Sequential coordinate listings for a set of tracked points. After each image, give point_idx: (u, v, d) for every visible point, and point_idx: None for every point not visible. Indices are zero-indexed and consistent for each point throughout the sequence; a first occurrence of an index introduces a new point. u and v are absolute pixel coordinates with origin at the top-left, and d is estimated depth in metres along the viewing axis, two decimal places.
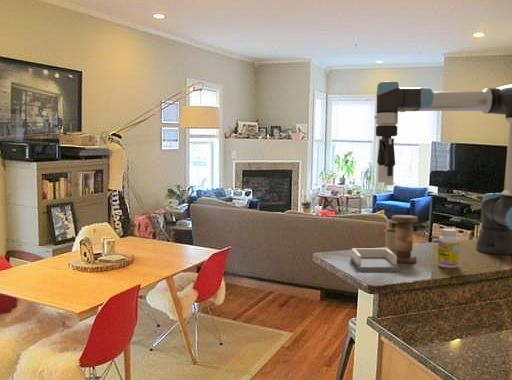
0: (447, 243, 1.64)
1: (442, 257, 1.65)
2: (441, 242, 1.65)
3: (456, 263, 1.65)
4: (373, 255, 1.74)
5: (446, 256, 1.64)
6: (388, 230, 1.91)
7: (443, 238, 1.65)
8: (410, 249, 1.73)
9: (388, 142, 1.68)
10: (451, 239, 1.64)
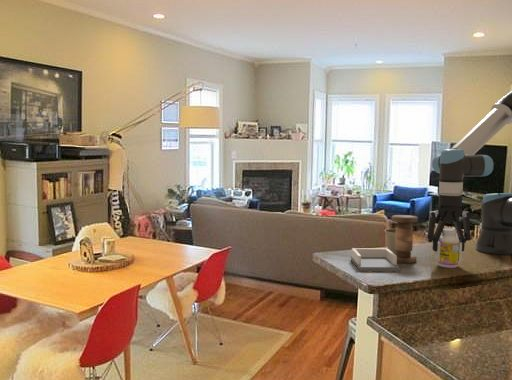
0: (447, 243, 1.64)
1: (442, 257, 1.65)
2: (441, 242, 1.65)
3: (456, 263, 1.65)
4: (373, 255, 1.74)
5: (447, 256, 1.64)
6: (388, 230, 1.91)
7: (443, 238, 1.65)
8: (410, 249, 1.73)
9: (430, 215, 1.66)
10: (451, 239, 1.64)
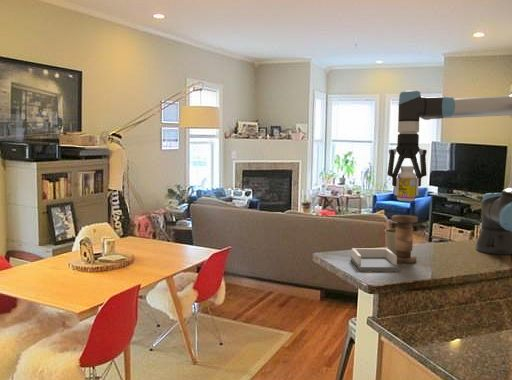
0: (405, 178, 1.77)
1: (401, 191, 1.79)
2: (400, 177, 1.79)
3: (413, 197, 1.78)
4: (373, 255, 1.74)
5: (404, 190, 1.78)
6: (388, 230, 1.91)
7: (401, 174, 1.79)
8: (410, 249, 1.73)
9: (389, 153, 1.80)
10: (408, 174, 1.77)
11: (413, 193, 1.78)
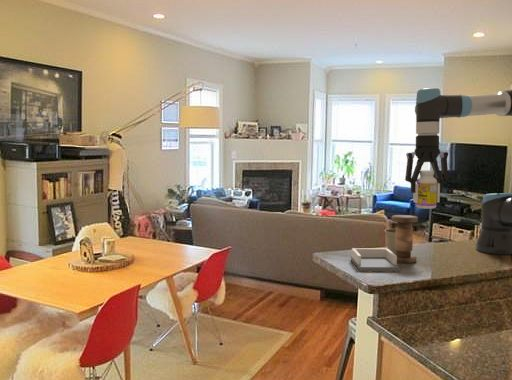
0: (425, 183, 1.62)
1: (420, 198, 1.64)
2: (419, 183, 1.64)
3: (434, 204, 1.63)
4: (373, 255, 1.74)
5: (424, 197, 1.63)
6: (388, 230, 1.91)
7: (421, 179, 1.64)
8: (410, 249, 1.73)
9: (407, 157, 1.65)
10: (429, 179, 1.62)
11: (434, 200, 1.63)
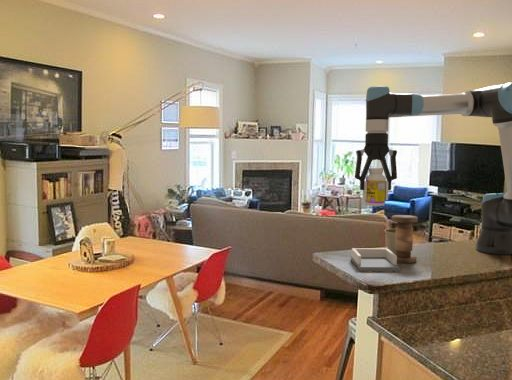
0: (373, 180, 1.63)
1: (369, 195, 1.64)
2: (368, 180, 1.65)
3: (382, 201, 1.64)
4: (373, 255, 1.74)
5: (372, 194, 1.64)
6: (388, 230, 1.91)
7: (369, 176, 1.64)
8: (410, 249, 1.73)
9: None
10: (377, 177, 1.63)
11: (382, 197, 1.64)
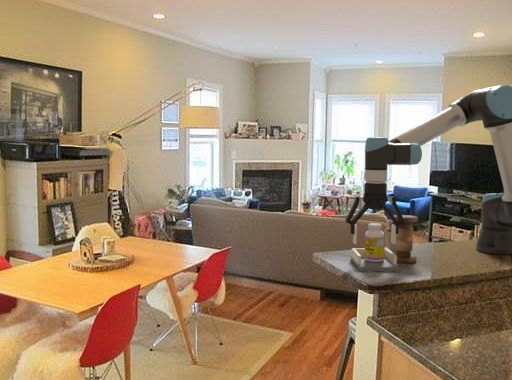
0: (372, 237, 1.65)
1: (368, 252, 1.66)
2: (367, 236, 1.66)
3: (381, 257, 1.66)
4: None
5: (371, 251, 1.65)
6: (388, 230, 1.91)
7: (368, 233, 1.66)
8: (410, 249, 1.73)
9: (354, 200, 1.67)
10: (375, 234, 1.65)
11: (381, 254, 1.66)
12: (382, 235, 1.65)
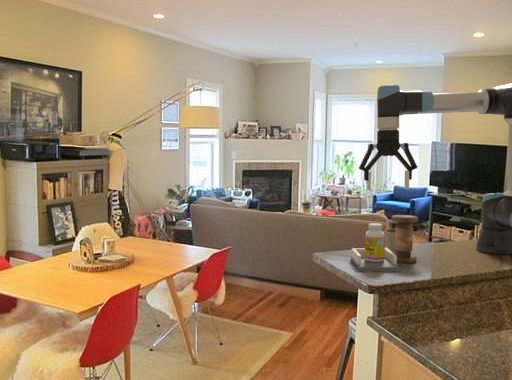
0: (372, 237, 1.65)
1: (368, 252, 1.66)
2: (367, 236, 1.67)
3: (381, 257, 1.66)
4: None
5: (371, 250, 1.65)
6: (388, 230, 1.91)
7: (368, 233, 1.66)
8: (410, 249, 1.73)
9: (368, 147, 1.72)
10: (376, 233, 1.65)
11: (381, 254, 1.66)
12: (382, 235, 1.65)
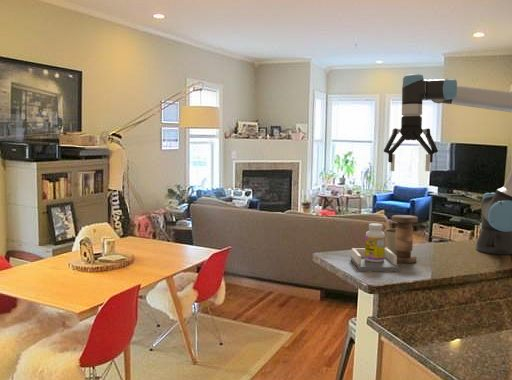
0: (372, 237, 1.65)
1: (368, 252, 1.66)
2: (367, 236, 1.66)
3: (381, 258, 1.66)
4: None
5: (372, 251, 1.65)
6: (388, 230, 1.91)
7: (369, 233, 1.66)
8: (410, 249, 1.73)
9: (392, 132, 1.87)
10: (376, 234, 1.65)
11: (381, 254, 1.66)
12: (383, 235, 1.65)
